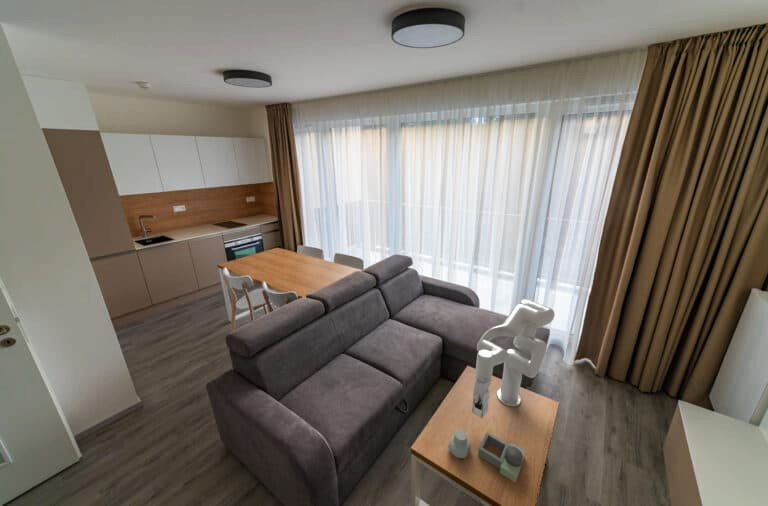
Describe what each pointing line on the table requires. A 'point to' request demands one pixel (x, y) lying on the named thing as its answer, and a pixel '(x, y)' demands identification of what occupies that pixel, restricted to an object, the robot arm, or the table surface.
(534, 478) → the table surface
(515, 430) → the table surface
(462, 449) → the air freshener
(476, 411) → the syrup box
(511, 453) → the grey square sleeve
